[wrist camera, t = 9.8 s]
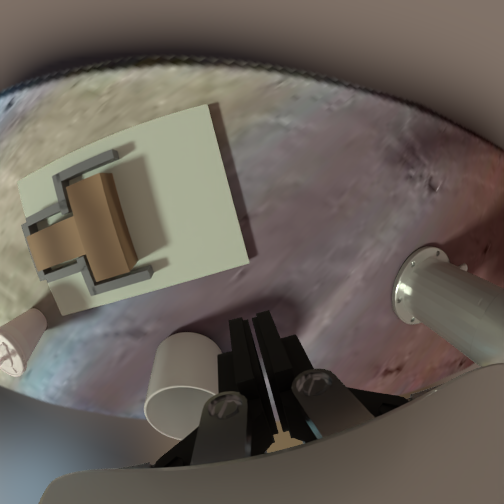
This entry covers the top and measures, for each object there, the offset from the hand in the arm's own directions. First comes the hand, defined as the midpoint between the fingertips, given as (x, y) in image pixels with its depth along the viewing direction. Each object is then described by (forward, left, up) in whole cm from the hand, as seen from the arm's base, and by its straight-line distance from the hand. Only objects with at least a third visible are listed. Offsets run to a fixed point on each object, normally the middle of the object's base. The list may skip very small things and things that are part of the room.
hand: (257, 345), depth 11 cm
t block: (+15, -6, -20) cm, 26 cm away
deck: (+11, -6, -21) cm, 25 cm away
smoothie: (+29, +3, -22) cm, 36 cm away
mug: (+9, +15, -22) cm, 28 cm away
